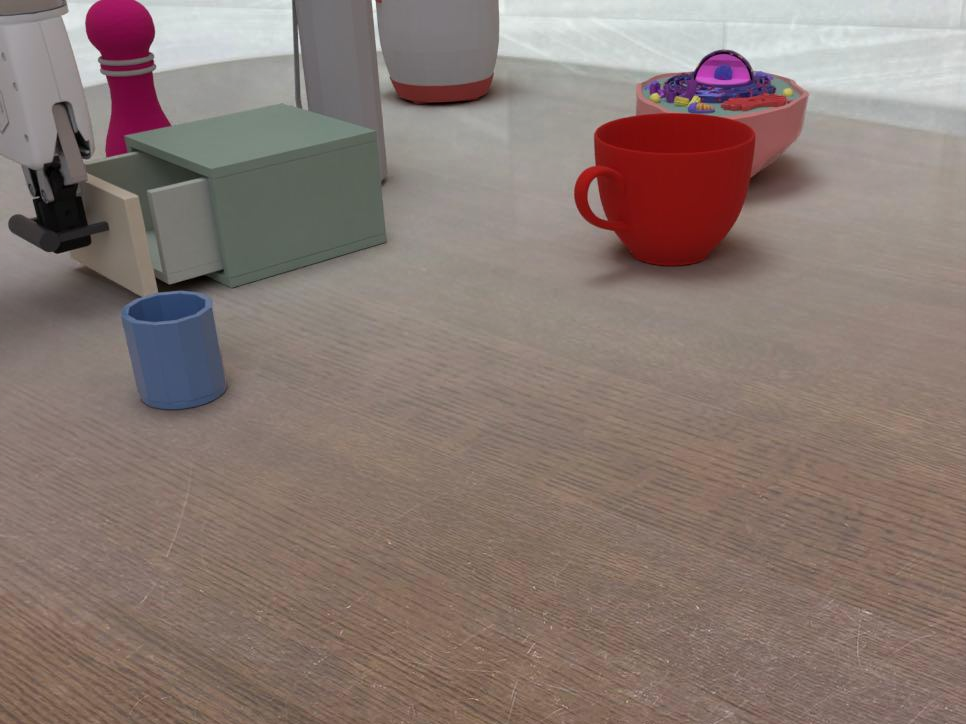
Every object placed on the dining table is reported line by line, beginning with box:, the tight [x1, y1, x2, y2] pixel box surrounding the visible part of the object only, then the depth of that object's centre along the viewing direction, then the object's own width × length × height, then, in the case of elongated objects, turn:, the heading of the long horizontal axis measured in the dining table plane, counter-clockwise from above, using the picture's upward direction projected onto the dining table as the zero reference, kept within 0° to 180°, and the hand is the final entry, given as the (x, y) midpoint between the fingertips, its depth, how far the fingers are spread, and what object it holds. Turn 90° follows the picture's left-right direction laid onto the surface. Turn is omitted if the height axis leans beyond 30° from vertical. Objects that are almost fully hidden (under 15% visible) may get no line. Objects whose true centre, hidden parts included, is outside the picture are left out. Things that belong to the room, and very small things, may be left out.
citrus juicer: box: [374, 0, 500, 105], centre depth 148 cm, size 16×17×20 cm
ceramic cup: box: [573, 113, 756, 267], centre depth 98 cm, size 13×17×10 cm
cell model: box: [635, 48, 810, 179], centre depth 118 cm, size 17×20×11 cm
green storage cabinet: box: [124, 102, 387, 289], centre depth 104 cm, size 16×15×10 cm
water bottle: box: [291, 0, 388, 182], centre depth 115 cm, size 9×8×25 cm
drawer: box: [7, 151, 224, 298], centre depth 98 cm, size 20×13×8 cm, turn 132°
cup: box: [120, 290, 228, 410], centre depth 80 cm, size 6×6×6 cm
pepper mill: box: [84, 0, 173, 158], centre depth 112 cm, size 7×7×20 cm
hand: (68, 246), depth 94 cm, fingers closed
